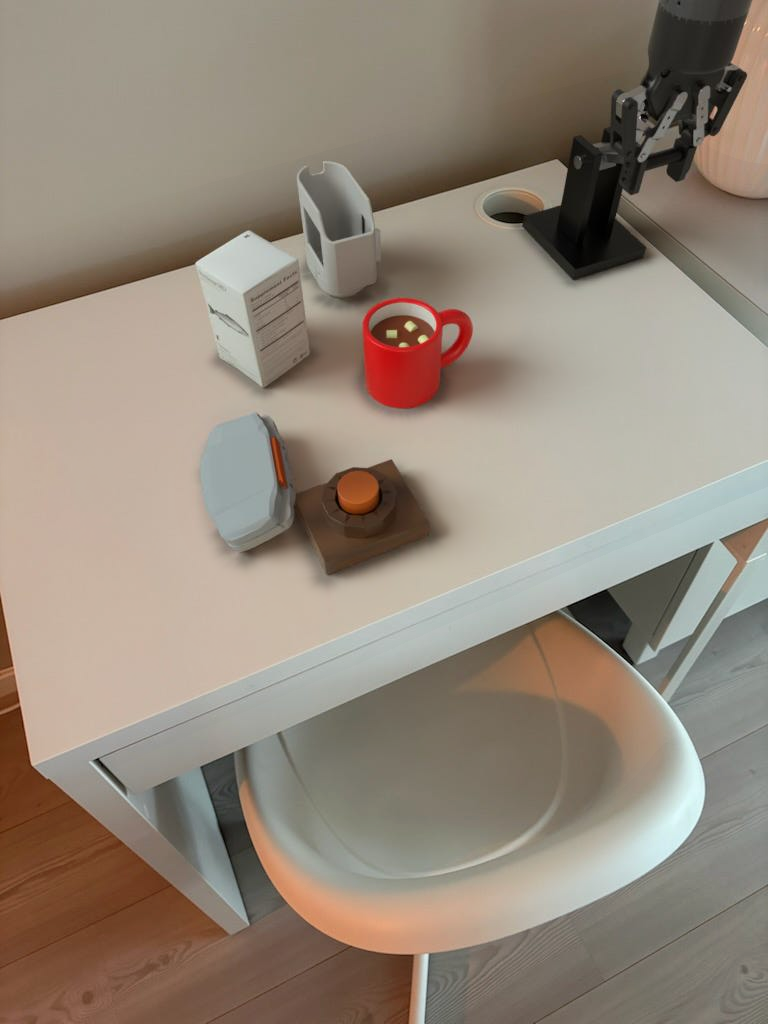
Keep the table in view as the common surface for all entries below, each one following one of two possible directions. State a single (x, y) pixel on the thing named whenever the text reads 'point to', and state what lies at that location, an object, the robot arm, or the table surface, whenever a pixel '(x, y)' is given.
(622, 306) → the table surface
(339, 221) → the cable organizer
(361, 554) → the button block
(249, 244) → the white packaging box
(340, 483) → the button
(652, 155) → the lever
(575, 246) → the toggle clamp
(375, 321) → the mug
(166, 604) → the table surface
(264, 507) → the grey case
